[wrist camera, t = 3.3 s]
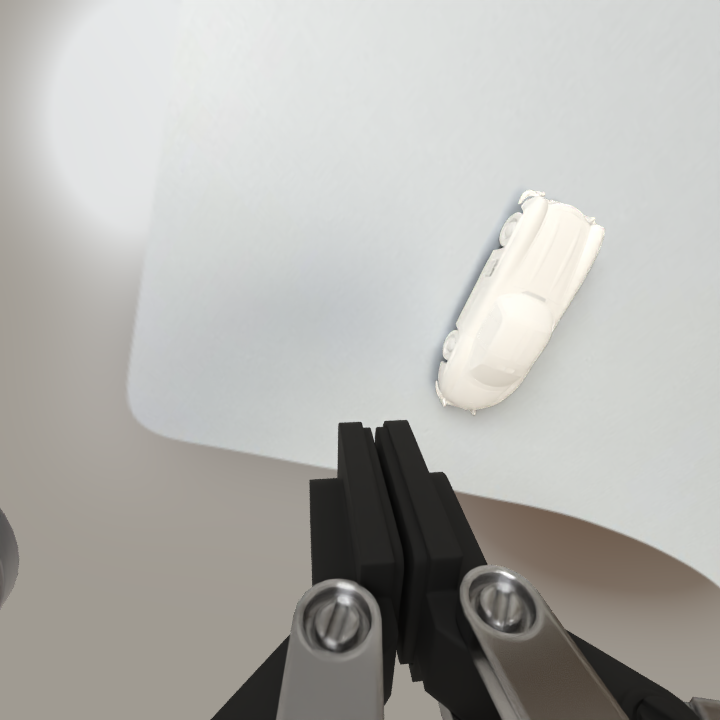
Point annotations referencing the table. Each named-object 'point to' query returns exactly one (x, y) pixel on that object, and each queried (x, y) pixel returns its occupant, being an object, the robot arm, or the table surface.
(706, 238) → the table surface
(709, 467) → the table surface
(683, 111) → the table surface
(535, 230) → the toy car
